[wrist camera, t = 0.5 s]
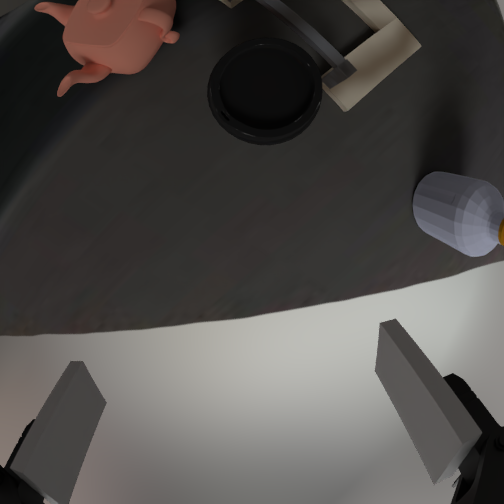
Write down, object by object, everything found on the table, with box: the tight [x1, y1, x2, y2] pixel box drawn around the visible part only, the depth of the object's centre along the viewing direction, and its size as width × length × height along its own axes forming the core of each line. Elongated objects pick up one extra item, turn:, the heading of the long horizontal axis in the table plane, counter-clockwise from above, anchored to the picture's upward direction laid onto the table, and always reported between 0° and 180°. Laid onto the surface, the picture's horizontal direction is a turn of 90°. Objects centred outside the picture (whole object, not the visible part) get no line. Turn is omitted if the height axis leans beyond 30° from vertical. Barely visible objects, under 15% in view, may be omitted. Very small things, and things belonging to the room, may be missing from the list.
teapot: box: [35, 0, 180, 97], centre depth 22 cm, size 14×14×11 cm
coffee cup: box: [207, 38, 322, 145], centre depth 24 cm, size 8×8×15 cm
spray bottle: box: [412, 172, 504, 257], centre depth 24 cm, size 9×9×25 cm
